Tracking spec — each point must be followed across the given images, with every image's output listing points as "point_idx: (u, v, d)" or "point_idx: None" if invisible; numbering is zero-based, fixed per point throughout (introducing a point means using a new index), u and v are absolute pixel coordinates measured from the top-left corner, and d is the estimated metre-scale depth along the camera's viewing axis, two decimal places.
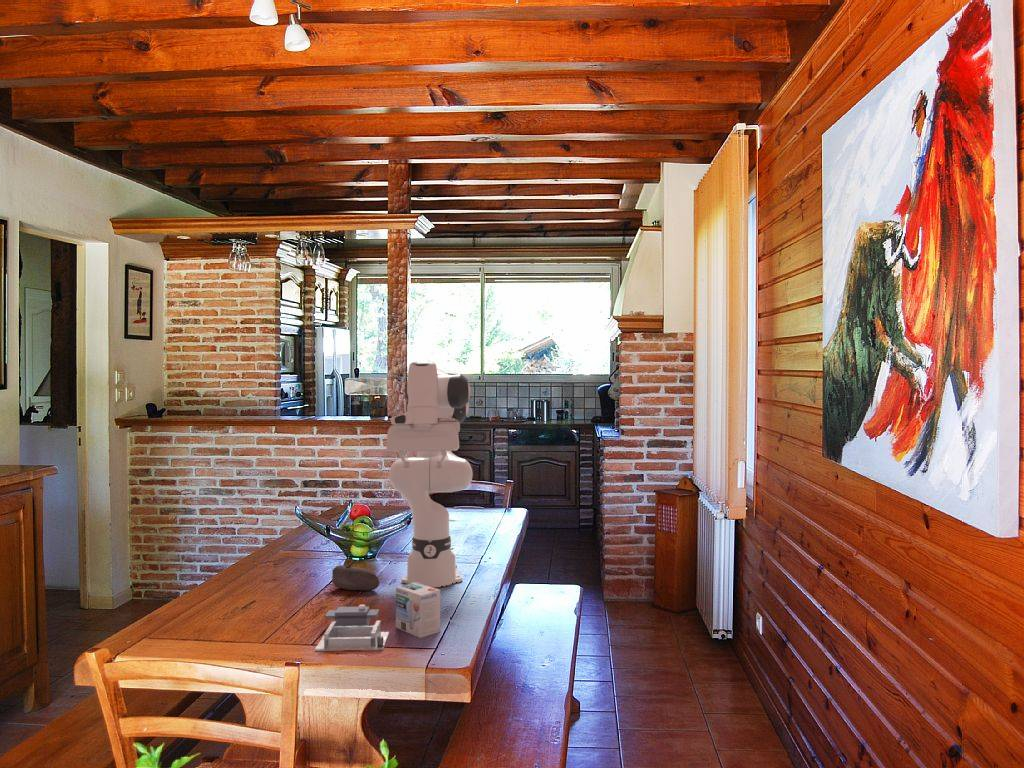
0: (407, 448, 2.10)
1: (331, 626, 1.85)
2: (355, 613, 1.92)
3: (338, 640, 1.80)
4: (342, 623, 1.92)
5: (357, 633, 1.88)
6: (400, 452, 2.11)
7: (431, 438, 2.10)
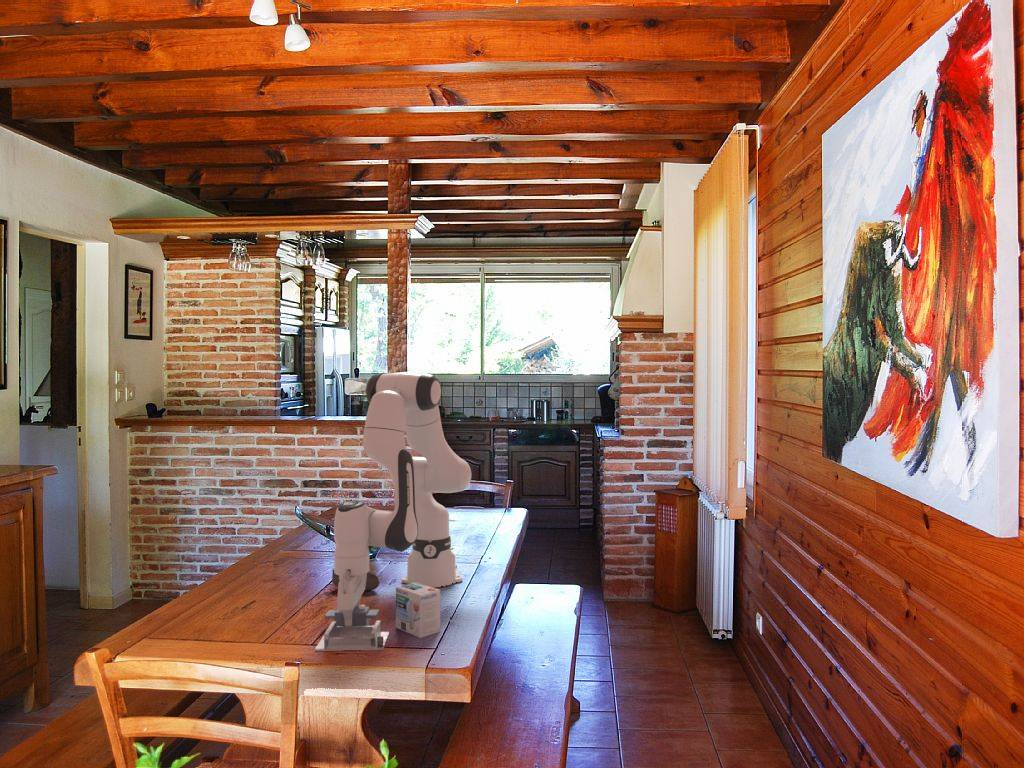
0: None
1: (331, 626, 1.85)
2: (355, 613, 1.92)
3: (338, 640, 1.80)
4: (341, 623, 1.92)
5: (357, 633, 1.88)
6: None
7: None
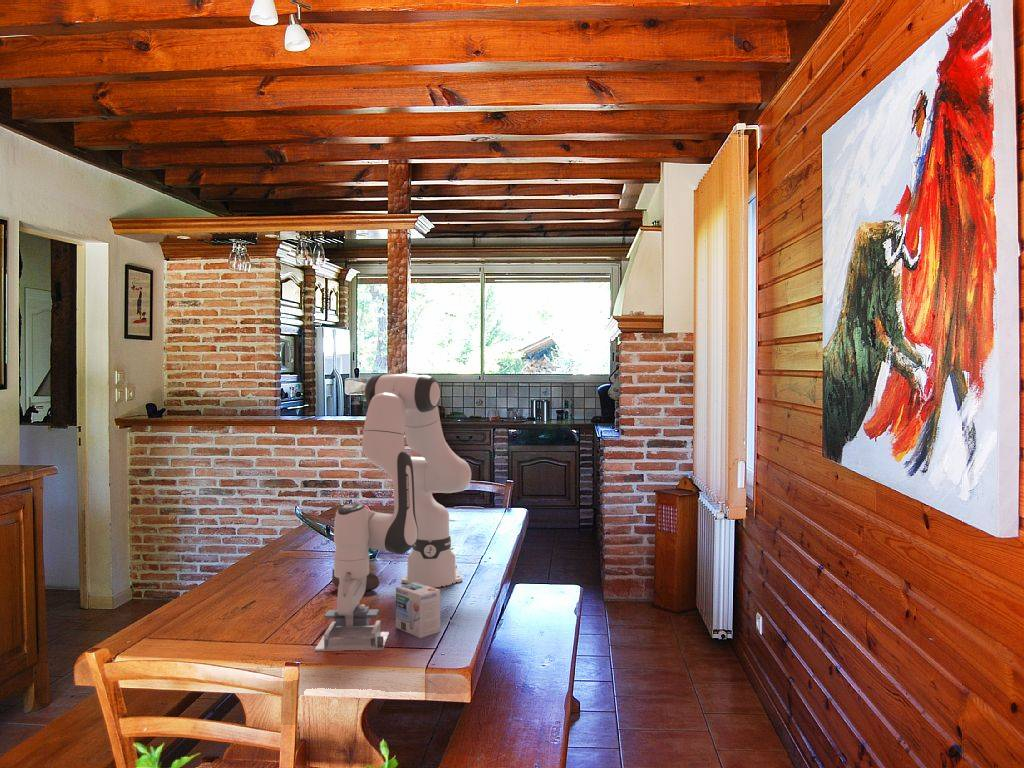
0: None
1: (331, 626, 1.85)
2: (355, 612, 1.92)
3: (338, 640, 1.80)
4: (341, 623, 1.92)
5: (357, 633, 1.88)
6: None
7: None
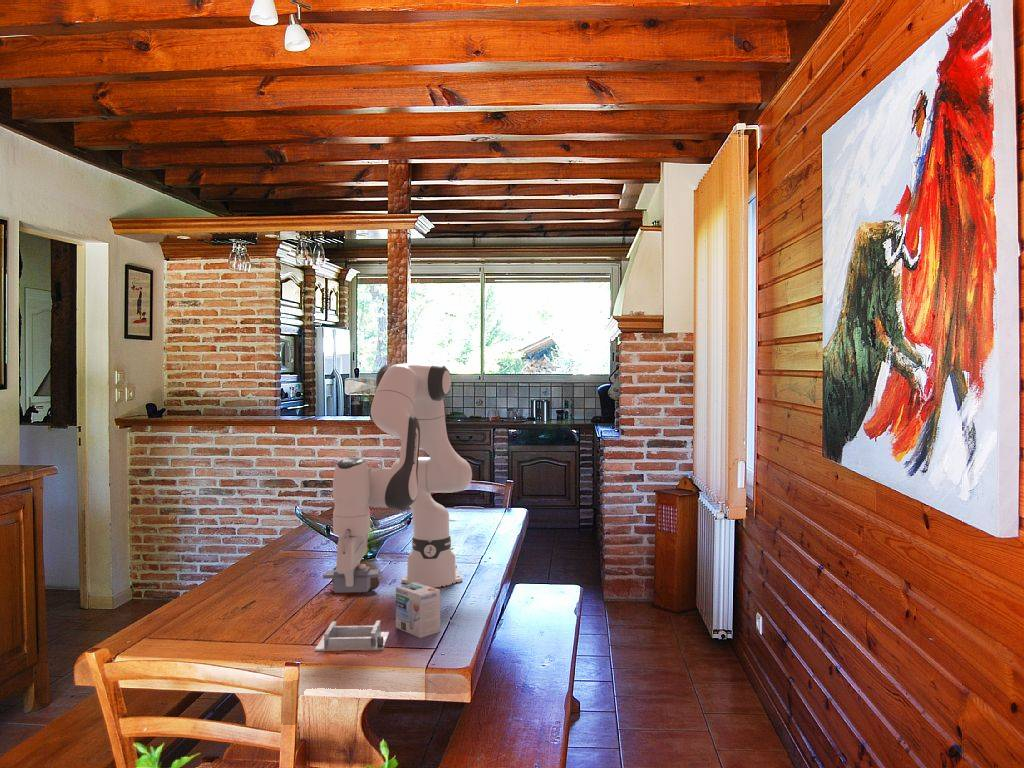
0: None
1: (331, 626, 1.85)
2: (355, 572, 1.82)
3: (338, 640, 1.80)
4: (341, 583, 1.82)
5: (357, 633, 1.88)
6: None
7: None
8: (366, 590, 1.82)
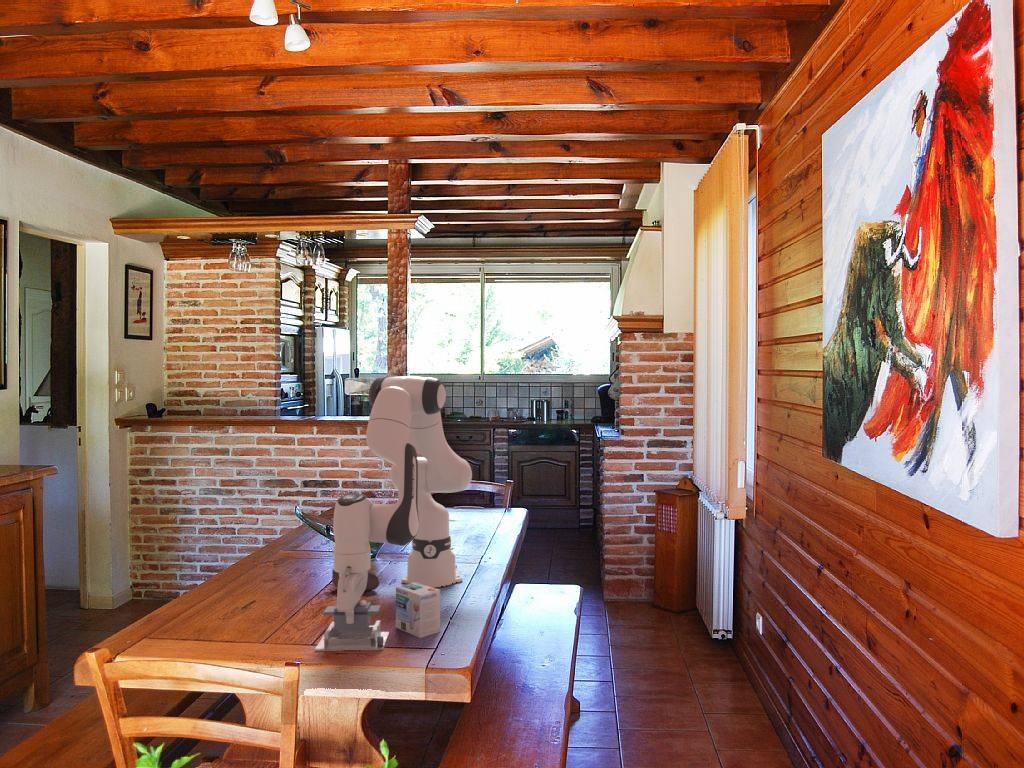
0: None
1: (331, 626, 1.85)
2: (355, 609, 1.82)
3: (338, 640, 1.80)
4: (341, 620, 1.82)
5: (357, 633, 1.88)
6: None
7: None
8: (366, 627, 1.82)
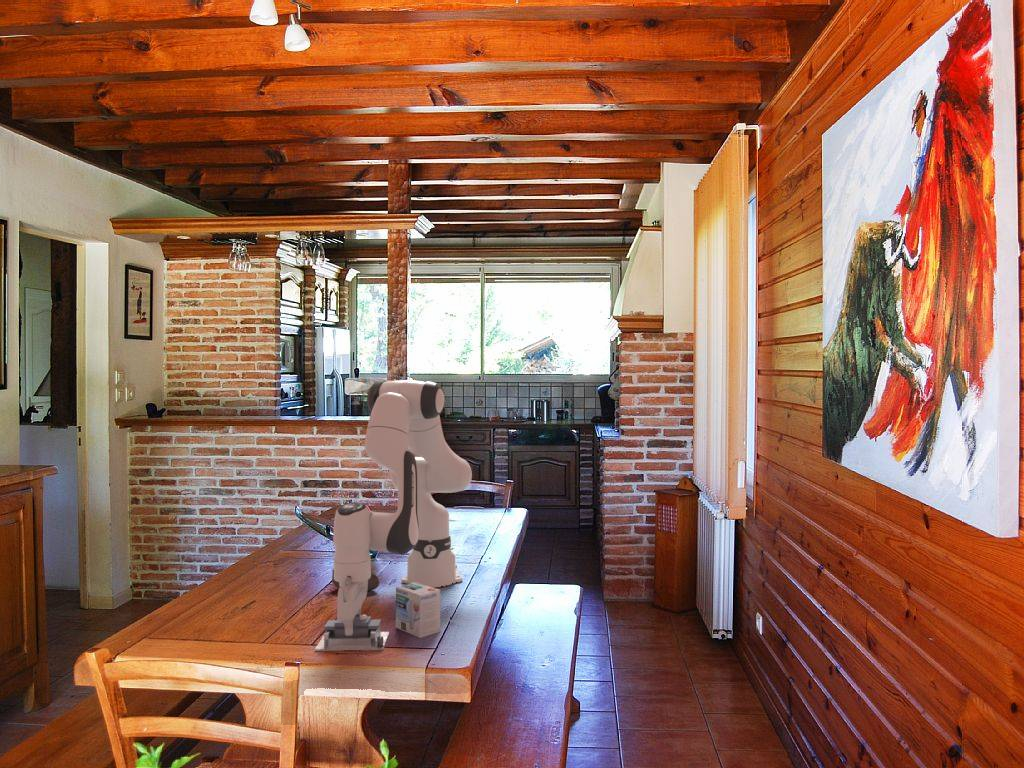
0: None
1: None
2: (356, 623, 1.82)
3: (338, 640, 1.80)
4: (342, 634, 1.82)
5: None
6: None
7: None
8: None
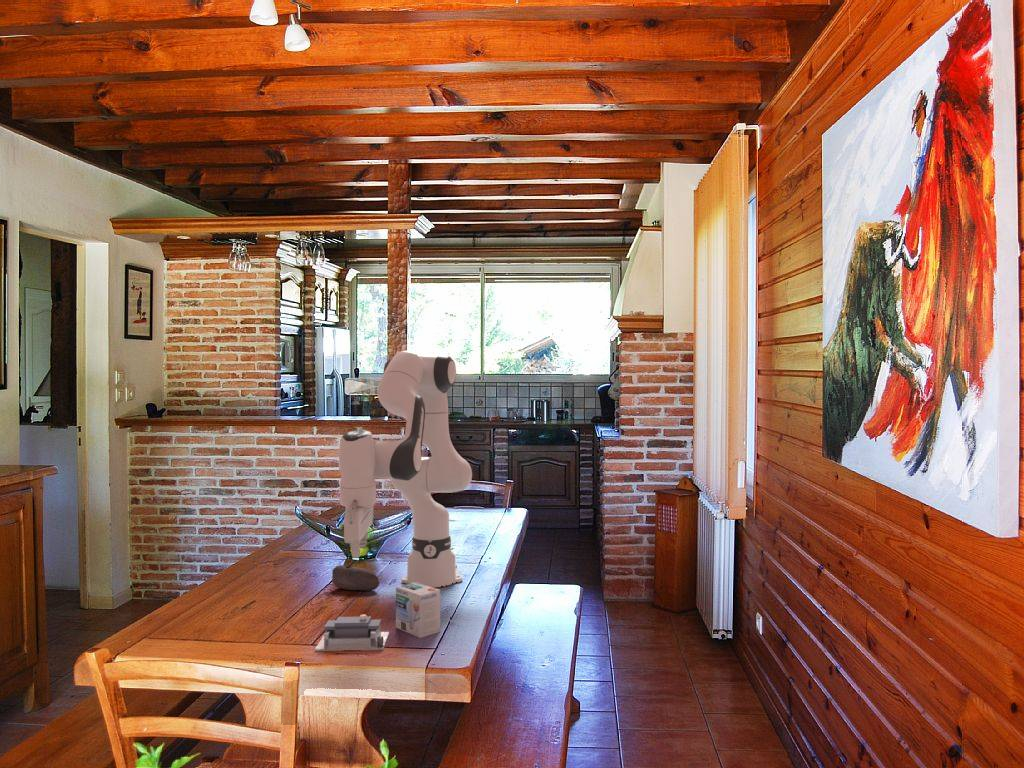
0: None
1: None
2: (356, 623, 1.82)
3: (338, 640, 1.80)
4: (342, 634, 1.82)
5: None
6: None
7: None
8: None
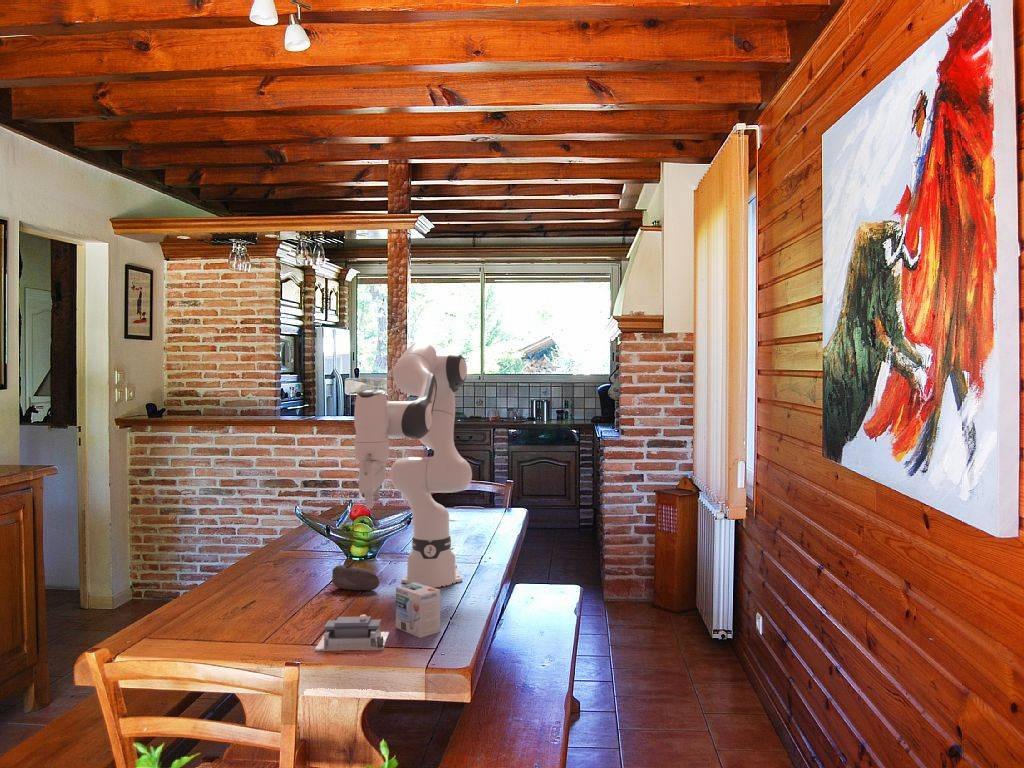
0: None
1: None
2: (356, 623, 1.82)
3: (338, 640, 1.80)
4: (342, 634, 1.82)
5: None
6: None
7: None
8: None
